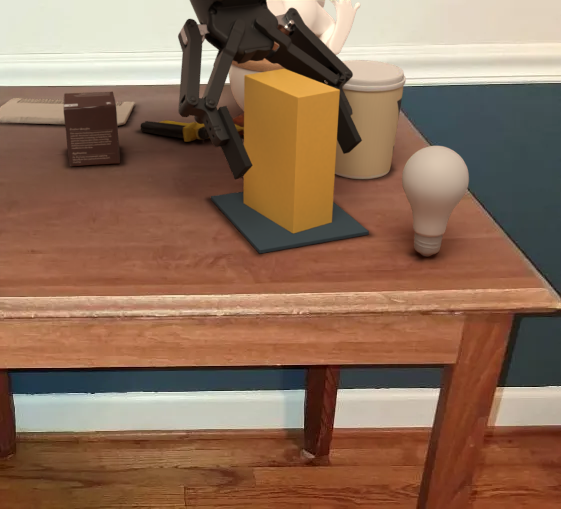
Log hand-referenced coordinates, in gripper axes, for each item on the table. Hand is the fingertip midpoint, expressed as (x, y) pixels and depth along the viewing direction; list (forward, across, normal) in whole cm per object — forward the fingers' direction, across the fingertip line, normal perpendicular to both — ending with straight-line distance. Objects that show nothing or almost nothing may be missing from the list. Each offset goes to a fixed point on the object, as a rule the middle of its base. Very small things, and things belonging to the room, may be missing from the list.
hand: (300, 159), depth 84 cm
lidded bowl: (-16, -18, -26) cm, 36 cm away
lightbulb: (+14, -6, +4) cm, 16 cm away
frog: (-21, -19, -22) cm, 36 cm away
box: (-15, +10, -25) cm, 31 cm away
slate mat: (+4, 0, -6) cm, 7 cm away
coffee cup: (-1, -16, -12) cm, 20 cm away
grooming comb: (-32, +3, -40) cm, 51 cm away
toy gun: (-18, -12, -26) cm, 34 cm away
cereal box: (+3, 0, -6) cm, 7 cm away
